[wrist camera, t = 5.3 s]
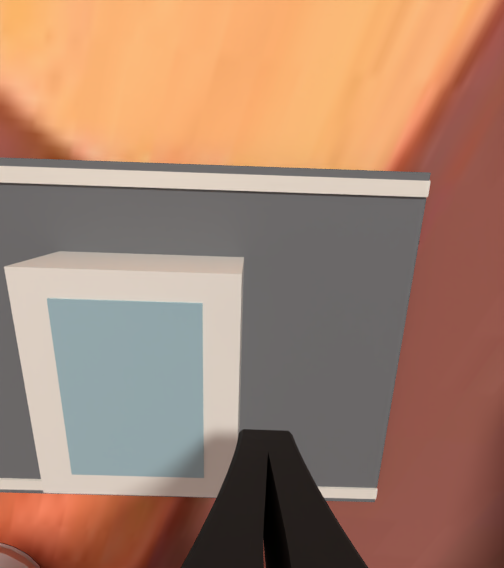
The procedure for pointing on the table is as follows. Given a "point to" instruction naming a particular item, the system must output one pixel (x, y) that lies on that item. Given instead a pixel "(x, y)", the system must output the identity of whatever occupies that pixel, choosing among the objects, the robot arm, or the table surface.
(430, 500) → the table surface
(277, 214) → the mat
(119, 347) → the white rectangular block
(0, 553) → the can
